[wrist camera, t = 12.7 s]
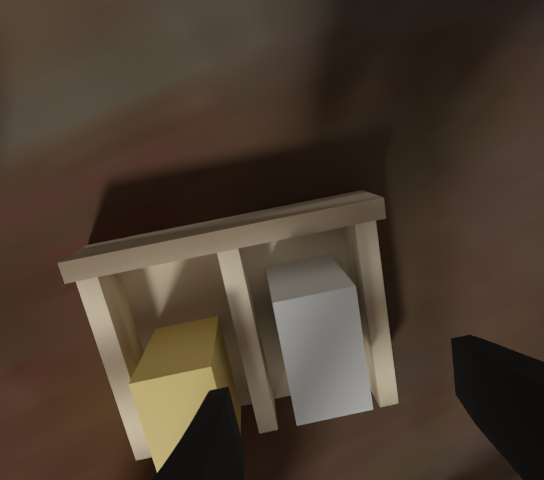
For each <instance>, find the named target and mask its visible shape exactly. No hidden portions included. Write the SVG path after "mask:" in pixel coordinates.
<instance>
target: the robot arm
mask: <svg viewBox="0 0 544 480" xmlns="http://www.w3.org/2000/svg"><path fill="white" fill-rule="evenodd" d="M451 343H452V355H453V368H454V380H455V392H456V395H457V397H458V399H459V400H460V402H461V403H462V405H463V406H464V408H465V409H466V411H467V412H468V414H469V415H470V417H471V418H472V420H473V421H474V423H475V424H476V425H477V426H478V427H479V429H480V430H481V431H482V432H483V433H484V435H485V436H486V437H487V438H488V439H489V441H490V442H491V443H492V444H493V445H494V446H495V448H496V449H497V450H498V451H499V452H500V453H501V455H502V456H503V457H504V458H505V459H506V460H507V462H508V463H509V464H510V465H511V466H512V467H513V468H514V470H515V471H516V472H517V473H518V474H519V475H520V477H521V478H522V479H523V480H544V362H543V361H540V360H537V359H534V358H532V357H529V356H526V355H524V354H521V353H518V352H516V351H513V350H511V349H508V348H505V347H503V346H500V345H498V344H495V343H492V342H490V341H487V340H484V339H481V338H478V337H475V336H472V335H467V336H462V337H457V338H453V339H451ZM152 480H244V463H243V446H242V438H241V434H240V430H239V426H238V422H237V418H236V414H235V410H234V406H233V402H232V398H231V394H230V390H229V386H228V387H223V388H219V389H214V390H210V391H209V392H208V393H207V395H206V397H205V398H204V400H203V402H202V404H201V406H200V407H199V409H198V411H197V413H196V414H195V416H194V418H193V420H192V421H191V423H190V425H189V426H188V428H187V430H186V431H185V433H184V434H183V436H182V438H181V439H180V441H179V442H178V444H177V445H176V447H175V448H174V450H173V451H172V453H171V454H170V456H169V457H168V458H167V460H166V461H165V463H164V464H163V466H162V467H161V468H160V470H159V471H158V472H157V474H156V475H155V476H154V478H153V479H152Z"/></svg>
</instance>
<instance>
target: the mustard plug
mask: <svg viewBox="0 0 544 480" xmlns="http://www.w3.org/2000/svg"><path fill="white" fill-rule="evenodd" d="M228 386H229V390H230V394H231V398H232V402H233V406H234V410H235V414H236V418H237V422H238V426H239V430H240V434H241V406H240V402H239V398H238V394H237V390H236V386H235V381H234V377H233V373H232V369H231V365H230V361H229V357H228V353H227V349H226V344H225V340H224V336H223V332H222V328H221V324H220V320H219V316H215V317H211V318H206V319H201V320H196V321H191V322H186V323H182V324H177V325H172V326H167V327H162V328H157V329H155V331H154V333H153V335H152V337H151V339H150V341H149V343H148V345H147V347H146V349H145V351H144V353H143V355H142V357H141V359H140V362H139V364H138V366H137V368H136V370H135V372H134V374H133V376H132V378H131V380H130V382H129V387H130V390H131V393H132V397H133V400H134V403H135V406H136V409H137V412H138V415H139V418H140V421H141V425H142V428H143V431H144V434H145V437H146V440H147V443H148V446H149V449H150V452H151V456H152V459H153V462H154V465H155V468H156V471H157V472H158V471H159V470H160V468H161V467H162V466H163V464H164V463H165V461H166V460H167V458H168V457H169V456H170V454H171V453H172V451H173V450H174V448H175V447H176V445H177V444H178V442H179V441H180V439H181V438H182V436H183V434H184V433H185V431H186V430H187V428H188V426H189V425H190V423H191V421H192V420H193V418H194V416H195V414H196V413H197V411H198V409H199V407H200V406H201V404H202V402H203V400H204V398H205V397H206V395H207V393H208V392H209V391H210V390H214V389H219V388H223V387H228Z"/></svg>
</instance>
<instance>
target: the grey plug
mask: <svg viewBox="0 0 544 480" xmlns="http://www.w3.org/2000/svg"><path fill="white" fill-rule="evenodd" d="M265 268H266V273H267V279H268V284H269V289H270V294H271V299H272V304H273V309H274V314H275V319H276V324H277V329H278V334H279V339H280V344H281V349H282V354H283V359H284V364H285V369H286V374H287V379H288V384H289V389H290V394H291V399H292V404H293V409H294V414H295V419H296V424H297V426H299V425H303V424H308V423H313V422H317V421H322V420H331V419H334V418H337V417H341V416H345V415H350V414H355V413H359V412H364V411H368V410H373V405H372V398H371V391H370V383H369V376H368V369H367V362H366V355H365V348H364V341H363V333H362V326H361V319H360V312H359V305H358V298H357V291H356V286H355V284H354V283H353V282H352V281H351V280H350V278H349V277H348V276H347V275H346V274H345V272H344V271H343V270H342V269H341V268H340V266H339V265H338V264H337V263H336V262H335V260H334V259H333V258H332V257H331V256H330V254H324V255H319V256H314V257H309V258H305V259H300V260H295V261H290V262H285V263H280V264H275V265H270V266H265Z"/></svg>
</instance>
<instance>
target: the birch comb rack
mask: <svg viewBox="0 0 544 480" xmlns="http://www.w3.org/2000/svg"><path fill="white" fill-rule="evenodd" d="M381 219H386V212H385V203H384V197H381V196H378V195H375V194H372V193H369V192H366V191H363V190H359V191H355V192H350V193H345V194H340V195H335V196H330V197H325V198H320V199H315V200H310V201H305V202H300V203H295V204H290V205H285V206H280V207H275V208H270V209H265V210H260V211H255V212H250V213H245V214H240V215H235V216H230V217H225V218H220V219H215V220H210V221H205V222H200V223H195V224H190V225H185V226H180V227H175V228H170V229H165V230H160V231H155V232H150V233H145V234H140V235H135V236H130V237H125V238H120V239H115V240H110V241H105V242H100V243H95V244H90V245H87V246H85V247H83V248H82V249H80V250H78V251H77V252H75V253H73V254H72V255H70V256H68V257H67V258H65V259H63V260H62V261H60V262H59V263H58V266H59V269H60V271H61V274H62V277H63V280H64V283H65V284H66V283H71V282H76V284H77V287H78V290H79V293H80V296H81V299H82V302H83V305H84V308H85V311H86V313H87V316H88V319H89V322H90V325H91V328H92V331H93V334H94V337H95V340H96V343H97V346H98V349H99V352H100V355H101V358H102V361H103V364H104V367H105V370H106V373H107V376H108V379H109V382H110V385H111V388H112V391H113V394H114V397H115V400H116V403H117V406H118V409H119V412H120V414H121V417H122V420H123V423H124V426H125V429H126V432H127V435H128V438H129V441H130V444H131V447H132V450H133V453H134V456H135V459H136V460H141V459H146V458H150V457H152V456H151V452H150V449H149V446H148V443H147V440H146V437H145V434H144V431H143V428H142V425H141V421H140V418H139V415H138V412H137V409H136V406H135V403H134V400H133V397H132V393H131V390H130V387H129V382H130V380H131V378H132V376H133V374H134V372H135V370H136V368H137V366H138V364H139V362H140V359H141V357H142V355H143V353H144V351H145V349H146V347H147V345H148V343H149V341H150V339H151V337H152V335H153V333H154V331H155V329H157V328H162V327H167V326H172V325H177V324H182V323H186V322H191V321H196V320H201V319H206V318H211V317H215V316H219V320H220V324H221V328H222V332H223V336H224V340H225V344H226V349H227V353H228V357H229V361H230V365H231V369H232V373H233V377H234V381H235V386H236V390H237V394H238V398H239V402H240V406H244V405H249V404H252V405H253V409H254V413H255V418H256V422H257V426H258V430H259V434H260V433H265V432H269V431H274V430H278V426H277V418H276V410H275V402H274V399H276V398H281V397H286V396H290V395H291V394H290V389H289V384H288V379H287V374H286V369H285V364H284V359H283V354H282V349H281V344H280V339H279V334H278V329H277V324H276V319H275V314H274V309H273V304H272V299H271V294H270V289H269V284H268V279H267V273H266V268H265V266H270V265H275V264H280V263H285V262H290V261H295V260H300V259H305V258H309V257H314V256H319V255H324V254H330V256H331V257H332V258H333V259H334V260H335V262H336V263H337V264H338V265H339V266H340V268H341V269H342V270H343V271H344V272H345V274H346V275H347V276H348V277H349V278H350V280H351V281H352V282H353V283H354V284H355V286H356V291H357V298H358V305H359V312H360V319H361V326H362V333H363V341H364V348H365V355H366V362H367V369H368V376H369V383H370V389H371V391H372V393H373V395H374V397H375V399H376V401H377V402H378V404H379V406H380V407H384V406H389V405H393V404H398V395H397V387H396V379H395V371H394V363H393V355H392V347H391V339H390V331H389V322H388V314H387V306H386V298H385V290H384V282H383V274H382V266H381V258H380V250H379V242H378V234H377V226H376V220H381Z"/></svg>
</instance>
